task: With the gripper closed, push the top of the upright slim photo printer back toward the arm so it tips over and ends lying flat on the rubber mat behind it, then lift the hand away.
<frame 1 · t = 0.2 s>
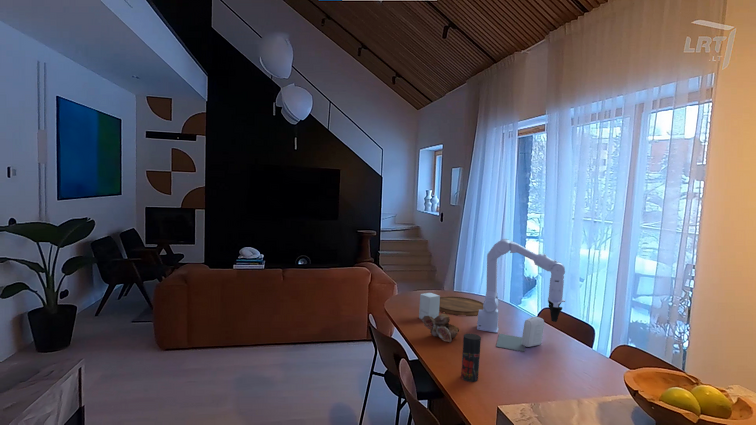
hand: (553, 318, 186), 10 cm above the table, tool pointing down, fingers open, 7 cm apart
supplement box: (428, 319, 209), on the table
seed pod: (442, 338, 183), on the table
deodorant: (469, 378, 146), on the table
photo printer: (531, 345, 180), on the table, touching mat
mat: (511, 342, 182), on the table
cutting board: (458, 308, 234), on the table
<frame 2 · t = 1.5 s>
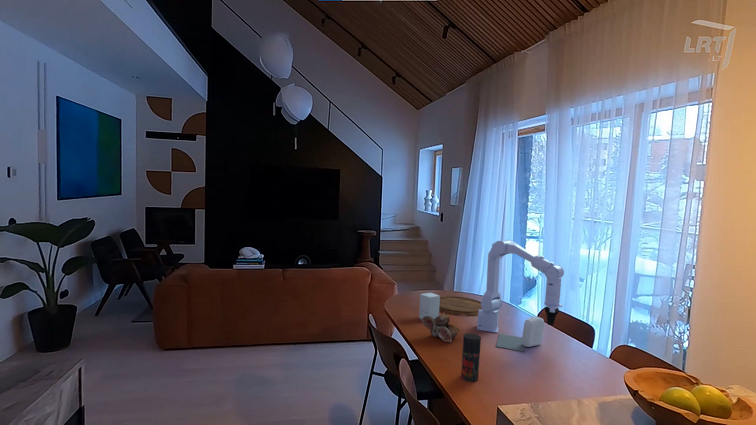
hand: (550, 324, 177), 10 cm above the table, tool pointing down, fingers closed
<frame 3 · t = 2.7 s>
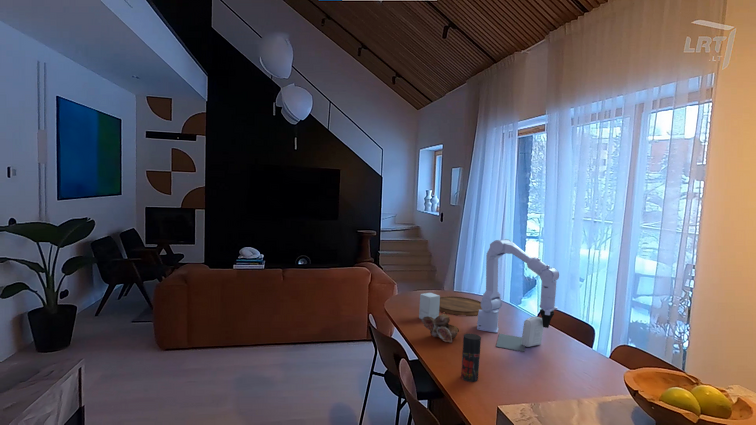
hand: (545, 327, 178), 9 cm above the table, tool pointing down, fingers closed
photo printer: (531, 344, 180), on the table, touching gripper, mat
everything else where it was.
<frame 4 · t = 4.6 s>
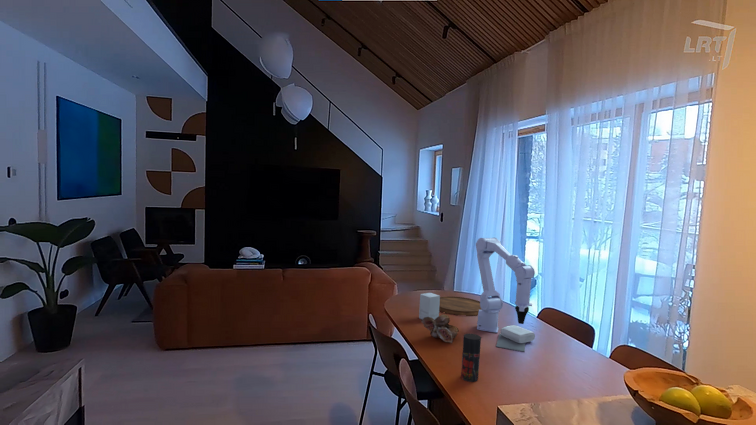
hand: (520, 323, 182), 9 cm above the table, tool pointing down, fingers closed
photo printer: (528, 338, 181), point 3 cm above the table, touching mat
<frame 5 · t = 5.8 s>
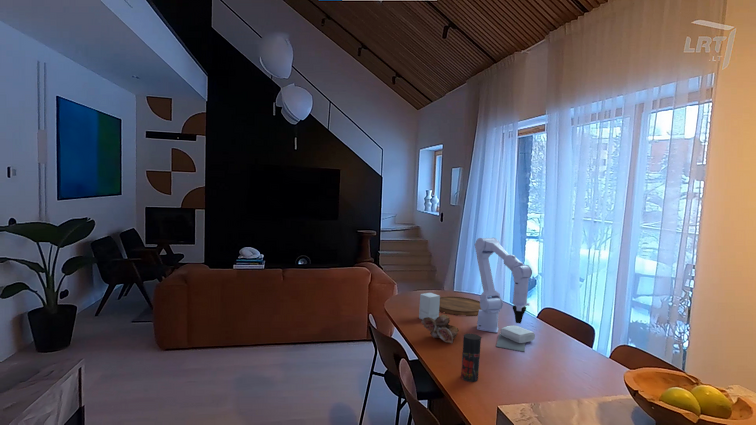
hand: (518, 322, 182), 9 cm above the table, tool pointing down, fingers closed
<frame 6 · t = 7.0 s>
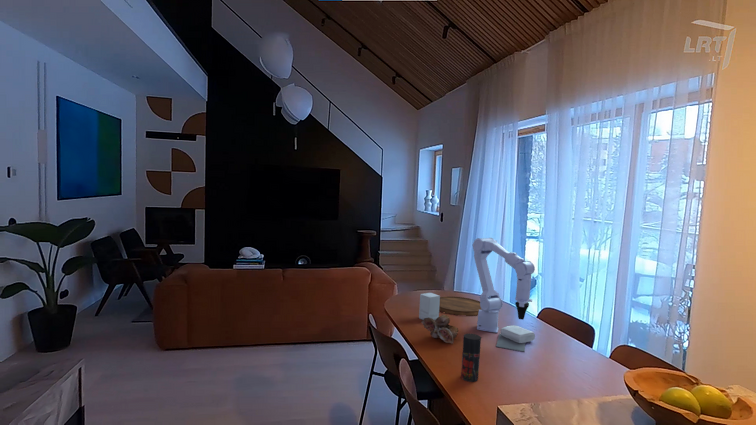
hand: (521, 318, 183), 10 cm above the table, tool pointing down, fingers closed
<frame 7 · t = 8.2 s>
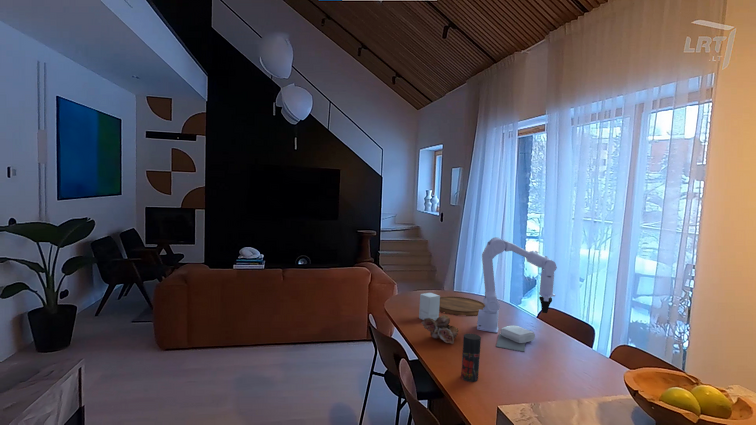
hand: (544, 312, 195), 10 cm above the table, tool pointing down, fingers closed
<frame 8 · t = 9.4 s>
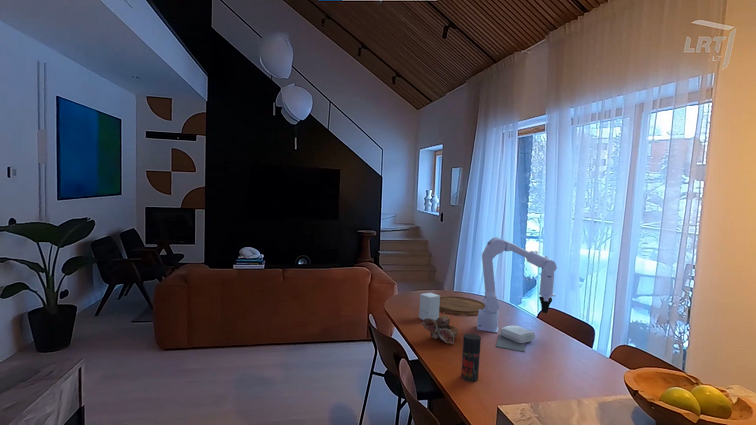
hand: (544, 312, 195), 10 cm above the table, tool pointing down, fingers closed
at the end: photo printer tilted 91°; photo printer inside the target area (1.3 cm from its centre), point 2.6 cm above the table; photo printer touching mat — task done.
